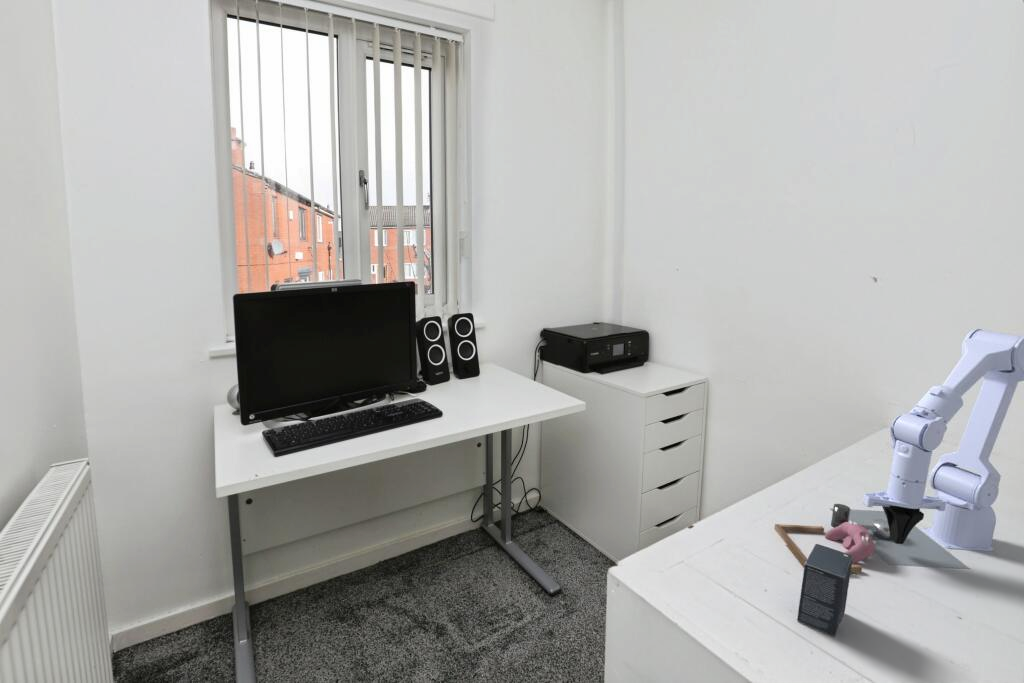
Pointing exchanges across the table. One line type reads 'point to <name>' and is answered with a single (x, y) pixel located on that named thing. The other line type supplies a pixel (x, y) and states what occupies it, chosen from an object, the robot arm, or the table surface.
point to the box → (824, 589)
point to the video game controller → (853, 540)
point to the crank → (876, 527)
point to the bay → (794, 549)
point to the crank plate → (908, 546)
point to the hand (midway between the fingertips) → (896, 541)
